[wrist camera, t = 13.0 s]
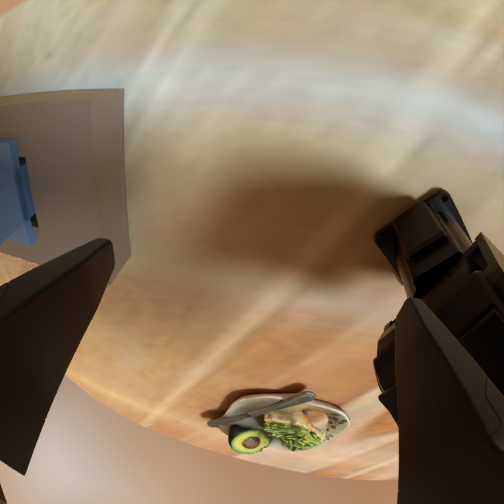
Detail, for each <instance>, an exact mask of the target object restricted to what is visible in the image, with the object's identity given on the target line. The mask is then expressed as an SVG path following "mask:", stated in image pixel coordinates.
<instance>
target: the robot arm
mask: <svg viewBox="0 0 504 504" xmlns="http://www.w3.org/2000/svg"><path fill="white" fill-rule="evenodd" d="M444 195H446V197H445V198H444V199H443V200H442V199H441V198H442V196H444ZM380 237H384V238H383V239H381V240H379V238H380ZM374 239H375V242H376V244H377V245H378V247H379V248H380V249H381V251H382V252H383V254H384V255H385V256H386V258H387V259H388V261H389V262H390V263H391V265H392V266H393V268H394V269H395V270H396V272H397V273H398V275H399V276H400V278H401V279H402V282H403V285H404V288H405V291H406V295H407V299H406V301H405V302H404V304H403V306H402V308H401V309H400V311H399V313H398V315H397V317H396V319H395V320H394V321H390V322H389V323H388V324H387V325H386V326H385V328H384V332H383V333H382V335H381V337H380V339H379V341H378V348H377V357H375V358H374V360H373V365H374V370H375V374H376V378H377V382H378V385H379V388H380V390H381V392H382V394H380V395H379V396H378V398H379V400H380V402H381V403H382V404H383V405H384V406H385V407H386V408H387V410H388V411H389V412H390V413H391V415H392V417H393V418H394V420H395V422H396V423H397V425H398V428H399V478H398V490H399V491H398V499H397V504H504V255H503V254H502V253H501V252H500V251H499V250H498V249H497V248H496V247H495V246H494V245H493V244H492V243H491V242H490V241H489V239H488V238H487V237H486V236H485V235H484V234H483V233H482V232H480V234H479V235H478V236H477V237H476V238H475V240H476V241H475V242H474V243H472V241H471V238H470V236H469V234H468V232H467V229H466V227H465V225H464V223H463V221H462V218H461V216H460V214H459V212H458V210H457V208H456V206H455V204H454V202H453V200H452V198H451V196H450V194H449V193H448V192H447V191H446V190H440V191H439V192H437V193H436V194H434V195H433V196H431V197H430V198H428V199H427V200H425V201H424V202H420V203H419V204H417V205H416V206H414V207H413V208H411V209H410V210H408V211H407V212H405V213H404V214H402V215H401V216H399V217H397V218H396V219H395V220H394V221H393V222H392V223H390V224H389V225H387V226H386V227H384V228H383V229H381V230H379V231H378V232H377V233H375V235H374ZM114 267H115V257H114V250H113V244H112V241H111V240H110V239H105V238H97V239H95V240H92V241H90V242H88V243H86V244H84V245H82V246H79V247H77V248H75V249H73V250H71V251H69V252H67V253H65V254H63V255H60V256H58V257H56V258H54V259H52V260H50V261H48V262H46V263H44V264H42V265H40V266H38V267H36V268H34V269H32V270H30V271H28V272H26V273H24V274H22V275H20V276H19V277H17V278H15V279H13V280H11V281H9V283H8V282H7V283H5V284H3V285H1V286H0V461H2V462H4V463H5V464H7V465H8V466H9V467H11V468H12V469H14V470H16V471H17V472H19V473H21V474H22V475H25V474H26V471H27V468H28V465H29V463H30V460H31V457H32V454H33V451H34V448H35V446H36V443H37V440H38V438H39V435H40V432H41V430H42V427H43V425H44V422H45V419H46V417H47V414H48V412H49V410H50V407H51V404H52V402H53V400H54V397H55V395H56V393H57V391H58V388H59V386H60V384H61V382H62V379H63V377H64V375H65V373H66V371H67V369H68V366H69V364H70V362H71V360H72V358H73V356H74V354H75V352H76V350H77V348H78V346H79V344H80V341H81V339H82V337H83V335H84V333H85V332H86V330H87V328H88V326H89V324H90V322H91V320H92V318H93V316H94V314H95V312H96V310H97V308H98V306H99V304H100V301H101V299H102V296H103V294H104V291H105V289H106V287H107V284H108V282H109V279H110V277H111V275H112V272H113V270H114ZM0 504H6V499H5V496H4V494H3V491H2V488H1V485H0Z"/></svg>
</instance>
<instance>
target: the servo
mask: <svg viewBox="0 0 504 504" xmlns="http://www.w3.org/2000/svg"><path fill="white" fill-rule="evenodd" d="M34 214H35V209H34V204H33V199H32V194H31V189H30V183H29V177H28V171H27V165H26V158H25V157H19V156H18V149H17V141H16V139H0V245H1V244H2V243H3V242H4V241H5V240H6V239H7V240H11V241H14V242H17V243H21V244H24V245H28V246H31V245H32V244H33V243H34V242H35V241H36V240H35V236H34V232H33V228H32V224H31V220H30V218H31V217H32V216H33V215H34Z"/></svg>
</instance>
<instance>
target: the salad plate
mask: <svg viewBox="0 0 504 504" xmlns="http://www.w3.org/2000/svg"><path fill="white" fill-rule="evenodd" d="M308 411H320V412H324V413H326V415H327V416H328V423H327V425H326V426H324V427H323V428H322V429H321V430H318V429H317V427H314V426H313V425H311V423H310V420H309V418H308V416H307V415H308V414H307V412H308ZM207 424H208V426H210V427H219V428H220V429H221V431H222V432H224V433H225V434H226V435H228V441H229V445H230V446H231V448H232V449H233V450H234V451H236V452H239V453H244V454H254V453H257V452H260V451H262V449H263V448H266V447H268V446H269V447H273V448H277V449H282V450H288V451H305V450H312V449H315V448H318V447H320V446H322V445H323V444H325V443H326V442H328V441H329V440H331V439H332V438H334V437H335V436H336V435H338V434H340V433H341V432H343V431H344V430H345V429H347V428H348V427H349V425H350V418H349V416H348V415H347V413H346V412H345V411H344V410H342V409H340V408H338V407H337V406H335V405H334V404H332V403H329V402H326V401H322V400H318V399H315V394H314V393H313V392H310V391H304V392H299V393H295V394H294V393H279V394H256V395H245V396H242V397H240V398H238V399H237V400H236V401H234V402H233V403H232V404H231V405H230V407H229V409H228V410H227V412H226V413H225V414H224V415H222V416H220V417H218V418H216V419H213V420H211V421H209V422H207Z"/></svg>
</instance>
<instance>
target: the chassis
mask: <svg viewBox="0 0 504 504" xmlns="http://www.w3.org/2000/svg"><path fill="white" fill-rule="evenodd" d="M0 139H16V141H17V149H18V156H19V157H25V158H26V165H27V171H28V177H29V183H30V189H31V194H32V199H33V204H34V209H35V214H34V215H33V216H32V217H31V218H30V220H31V224H32V228H33V232H34V236H35V240H36V241H35V242H34V243H33V244H32V245H31V246H28V245H24V244H21V243H17V242H14V241H11V240H7V239H6V240H5V241H4V242H3V243H2V244H1V245H0V252H3V253H6V254H9V255H12V256H15V257H18V258H21V259H24V260H27V261H30V262H34V263H37V264H40V265H42V264H44V263H46V262H48V261H50V260H52V259H54V258H56V257H58V256H60V255H63V254H65V253H67V252H69V251H71V250H73V249H75V248H77V247H79V246H82V245H84V244H86V243H88V242H90V241H92V240H95V239H97V238H105V239H110V240H111V241H112V244H113V250H114V257H115V267H114V270H113V272H112V275H111V277H110V279H109V282H108V284H109V285H111V283H112V282H113V280H114V279H115V277H116V276H117V274H118V273H119V271H120V270H121V269H122V267H123V266H124V264H125V263H126V261H127V260H128V259H129V257H130V256H131V250H130V240H129V230H128V218H127V205H126V190H125V169H124V89H80V90H62V91H49V92H38V93H29V94H20V95H13V96H5V97H0Z"/></svg>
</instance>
